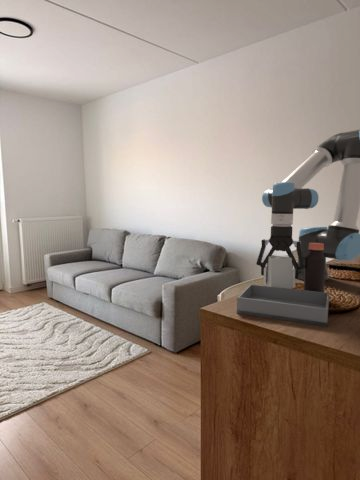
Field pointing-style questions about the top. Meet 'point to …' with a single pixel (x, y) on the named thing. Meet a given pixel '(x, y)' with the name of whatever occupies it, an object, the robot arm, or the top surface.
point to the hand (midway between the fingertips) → (279, 285)
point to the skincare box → (280, 271)
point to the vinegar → (315, 268)
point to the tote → (284, 304)
